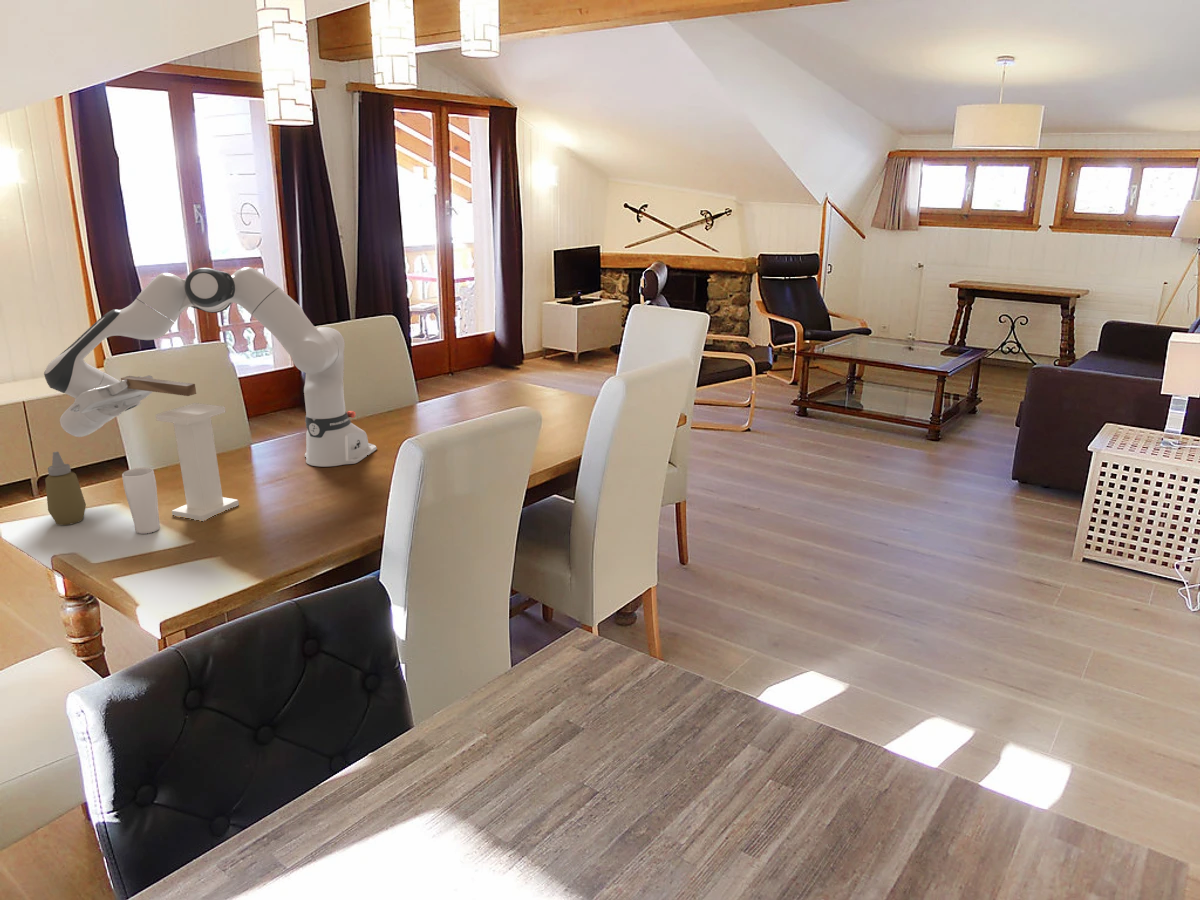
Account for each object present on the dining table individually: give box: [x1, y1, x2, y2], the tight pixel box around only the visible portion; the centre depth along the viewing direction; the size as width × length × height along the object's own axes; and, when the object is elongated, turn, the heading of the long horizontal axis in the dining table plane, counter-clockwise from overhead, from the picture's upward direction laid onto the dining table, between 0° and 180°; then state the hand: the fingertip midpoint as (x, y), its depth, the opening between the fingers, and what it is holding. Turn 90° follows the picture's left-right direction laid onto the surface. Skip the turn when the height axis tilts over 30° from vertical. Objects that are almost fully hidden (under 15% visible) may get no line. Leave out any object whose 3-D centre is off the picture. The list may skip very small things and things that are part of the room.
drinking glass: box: [121, 467, 161, 535], centre depth 205 cm, size 7×7×15 cm
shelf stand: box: [155, 402, 240, 522], centre depth 216 cm, size 12×10×26 cm
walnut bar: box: [120, 375, 197, 397], centre depth 213 cm, size 2×22×2 cm, turn 68°
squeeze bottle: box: [44, 451, 87, 526], centre depth 211 cm, size 8×8×18 cm
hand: (133, 380), depth 216 cm, fingers closed on walnut bar, 2 cm apart
